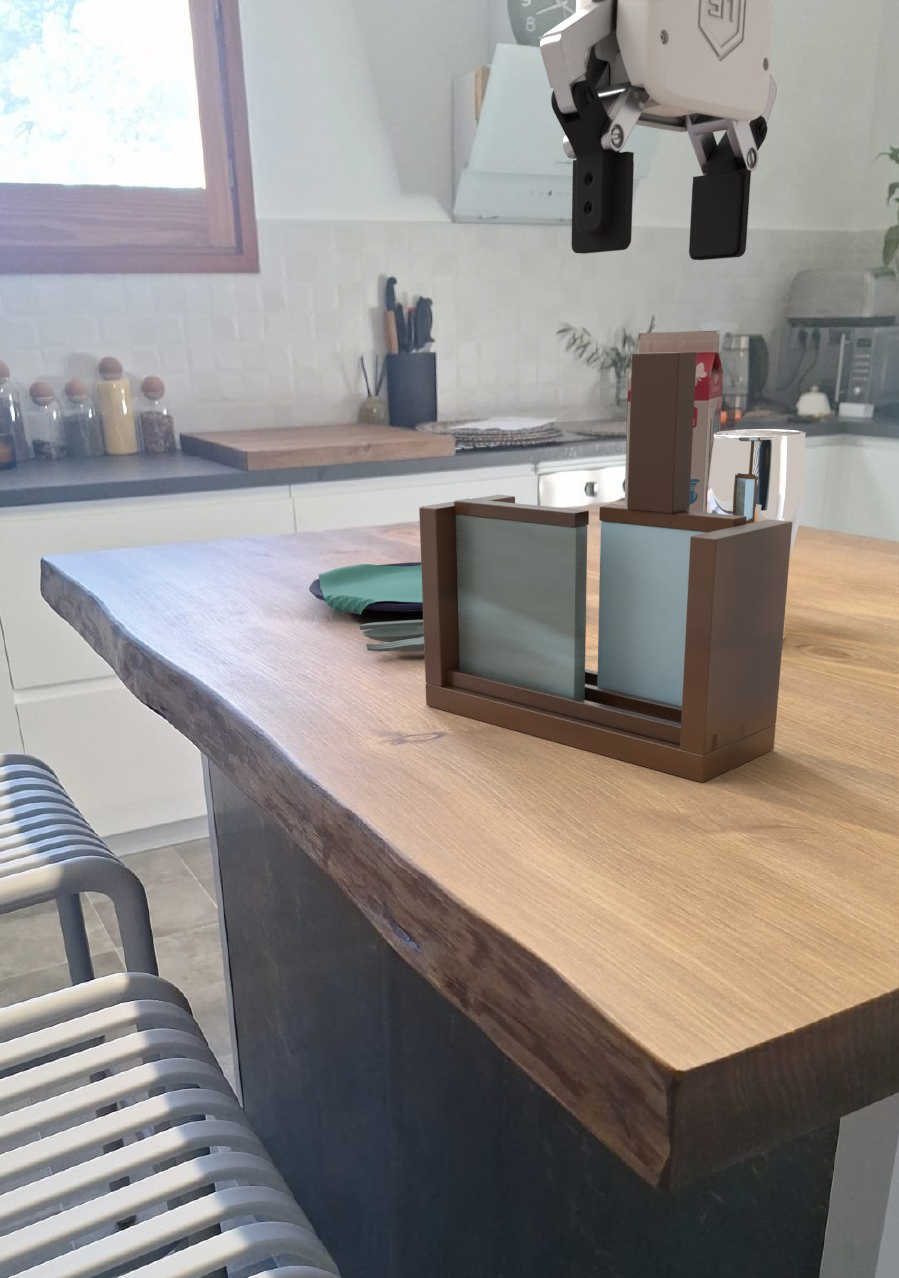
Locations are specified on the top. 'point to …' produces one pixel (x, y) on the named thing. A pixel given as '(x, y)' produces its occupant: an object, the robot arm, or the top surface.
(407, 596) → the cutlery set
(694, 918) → the top surface
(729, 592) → the window frame
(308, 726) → the top surface
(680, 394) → the sash
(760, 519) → the beer glass
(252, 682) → the top surface
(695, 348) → the juice carton
